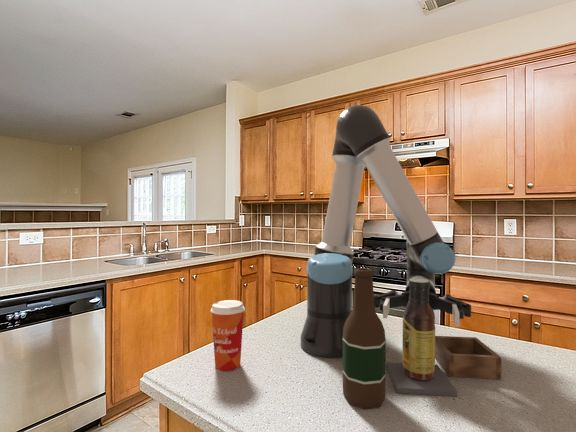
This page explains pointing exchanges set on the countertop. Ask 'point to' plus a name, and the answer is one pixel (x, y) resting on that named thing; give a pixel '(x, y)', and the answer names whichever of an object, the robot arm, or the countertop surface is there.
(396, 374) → the rubber mat
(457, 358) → the collar
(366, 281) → the beer bottle
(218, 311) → the paper cup
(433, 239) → the robot arm
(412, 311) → the sauce bottle
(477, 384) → the countertop surface
